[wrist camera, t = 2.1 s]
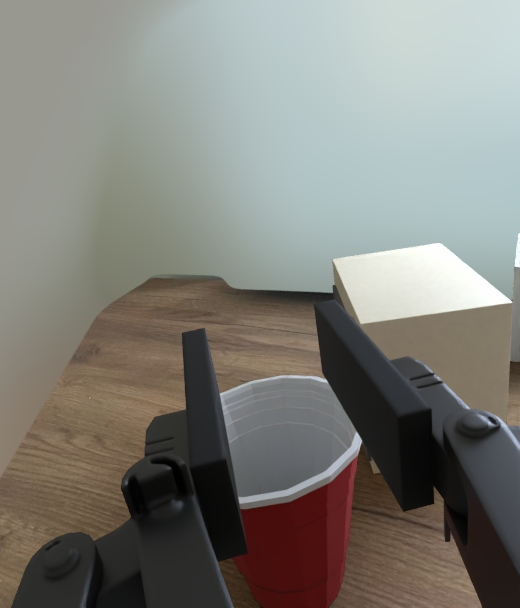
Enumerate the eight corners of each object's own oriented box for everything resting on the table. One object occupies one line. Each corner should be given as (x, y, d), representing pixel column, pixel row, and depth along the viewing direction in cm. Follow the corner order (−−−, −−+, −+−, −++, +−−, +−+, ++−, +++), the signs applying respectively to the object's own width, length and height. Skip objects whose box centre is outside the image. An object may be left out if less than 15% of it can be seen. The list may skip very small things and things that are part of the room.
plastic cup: (269, 489, 38) (242, 355, 33) (406, 542, 32) (398, 387, 27) (173, 610, 30) (121, 457, 25) (332, 711, 24) (301, 534, 19)
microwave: (360, 475, 38) (345, 326, 32) (334, 378, 50) (321, 260, 45) (505, 457, 37) (513, 302, 32) (442, 364, 50) (440, 242, 45)
